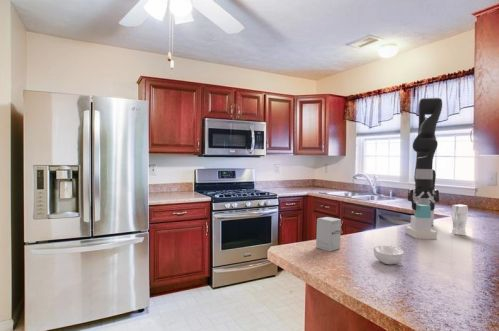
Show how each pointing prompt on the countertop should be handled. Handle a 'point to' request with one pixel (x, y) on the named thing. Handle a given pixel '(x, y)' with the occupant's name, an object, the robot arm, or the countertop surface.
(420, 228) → the grey cube
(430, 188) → the robot arm
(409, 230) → the cream slab
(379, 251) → the white bowl
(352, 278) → the countertop surface
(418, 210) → the teal block
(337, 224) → the supplement box
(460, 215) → the beer glass
